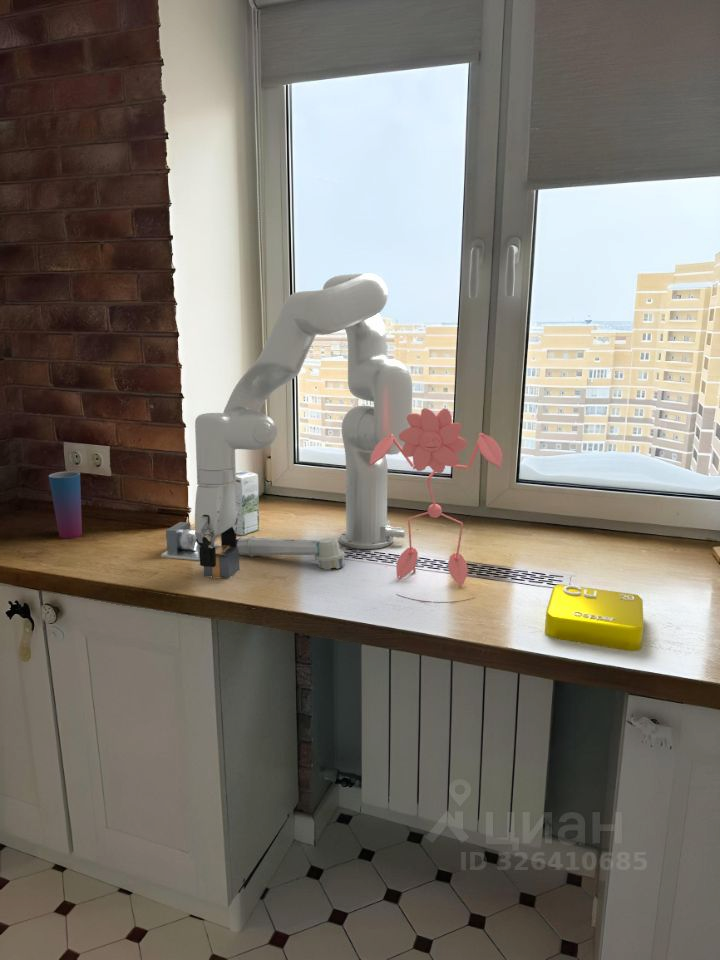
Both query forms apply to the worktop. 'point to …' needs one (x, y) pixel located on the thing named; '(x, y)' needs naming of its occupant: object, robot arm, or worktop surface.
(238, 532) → the syrup box
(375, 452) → the pink flower doll
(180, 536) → the shaft mount
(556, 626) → the element tile
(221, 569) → the coupling block
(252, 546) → the grey connecting link
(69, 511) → the cup
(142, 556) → the worktop surface
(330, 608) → the worktop surface
